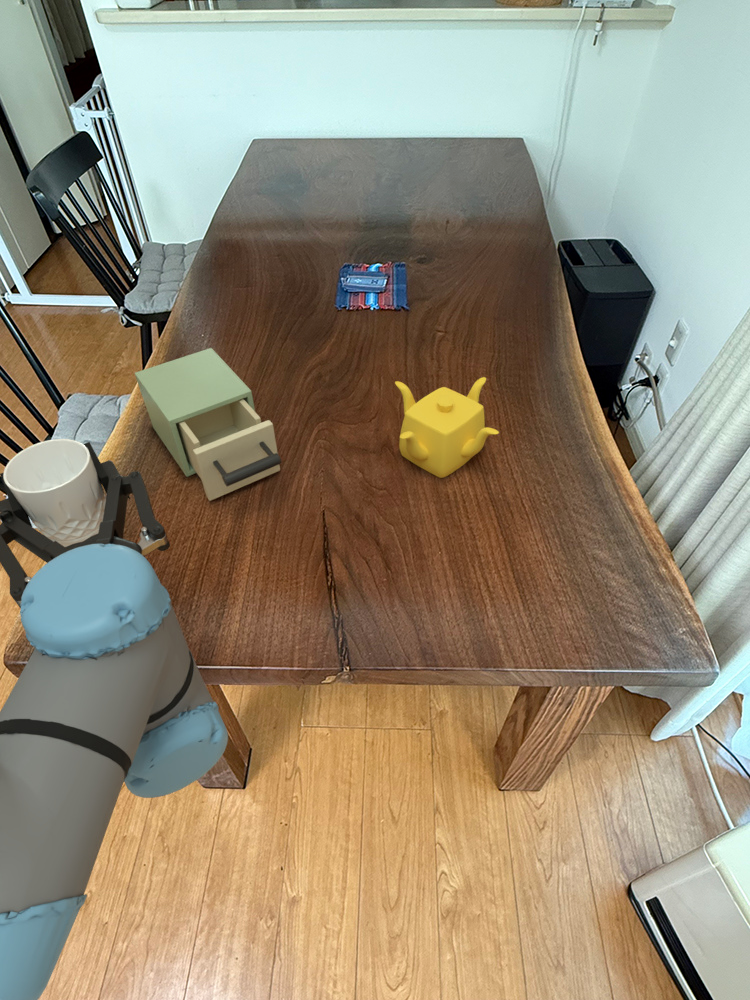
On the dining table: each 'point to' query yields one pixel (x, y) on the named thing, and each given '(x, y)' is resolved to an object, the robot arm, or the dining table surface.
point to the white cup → (58, 489)
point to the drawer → (229, 447)
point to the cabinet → (188, 395)
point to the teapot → (443, 428)
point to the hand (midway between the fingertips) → (50, 467)
